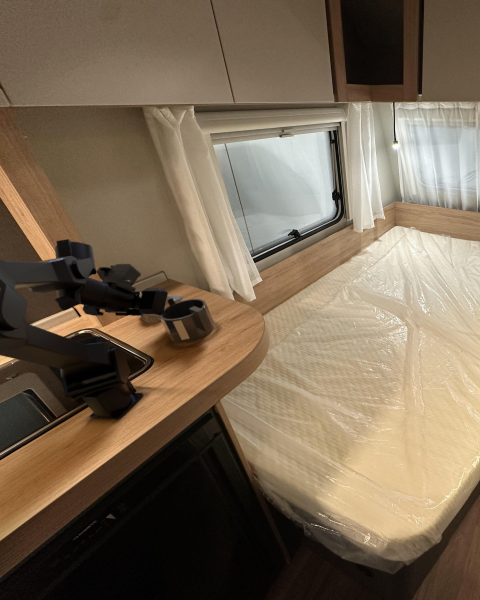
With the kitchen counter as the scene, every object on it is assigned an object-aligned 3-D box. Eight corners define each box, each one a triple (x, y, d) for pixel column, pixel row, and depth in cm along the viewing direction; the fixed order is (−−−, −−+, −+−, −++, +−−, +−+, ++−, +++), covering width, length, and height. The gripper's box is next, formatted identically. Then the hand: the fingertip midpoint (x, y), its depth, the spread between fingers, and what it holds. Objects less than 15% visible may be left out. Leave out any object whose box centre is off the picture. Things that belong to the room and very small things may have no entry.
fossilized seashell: (133, 315, 94) (134, 293, 92) (172, 309, 103) (173, 289, 101) (153, 330, 90) (154, 308, 88) (191, 322, 100) (193, 302, 97)
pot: (193, 351, 78) (178, 321, 74) (156, 333, 86) (140, 305, 82) (230, 329, 86) (219, 300, 82) (193, 314, 94) (181, 287, 90)
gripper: (142, 257, 69) (194, 280, 84) (66, 259, 71) (130, 281, 86) (130, 307, 66) (186, 321, 81) (51, 307, 68) (120, 321, 83)
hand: (155, 310), depth 83 cm, fingers closed
